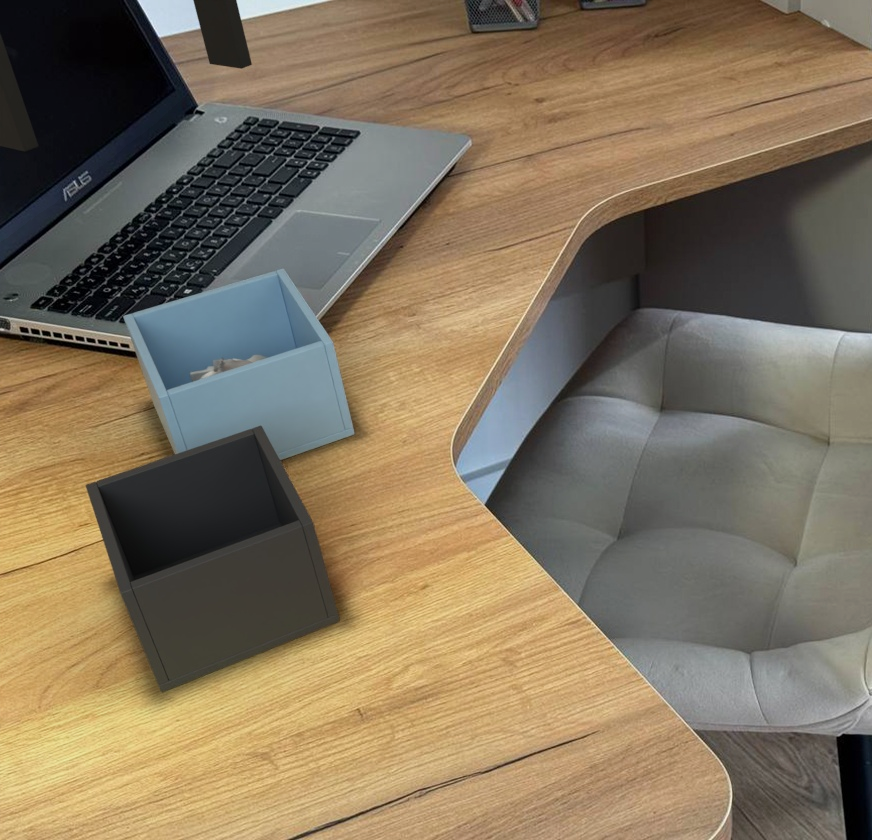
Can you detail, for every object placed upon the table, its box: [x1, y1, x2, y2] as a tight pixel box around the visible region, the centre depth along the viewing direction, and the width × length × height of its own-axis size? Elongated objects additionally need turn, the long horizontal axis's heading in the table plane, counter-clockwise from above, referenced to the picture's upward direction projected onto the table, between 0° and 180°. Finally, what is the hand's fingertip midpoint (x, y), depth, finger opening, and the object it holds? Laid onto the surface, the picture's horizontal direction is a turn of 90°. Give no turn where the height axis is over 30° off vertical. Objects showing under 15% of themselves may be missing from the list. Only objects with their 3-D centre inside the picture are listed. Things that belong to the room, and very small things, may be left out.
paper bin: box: [122, 268, 355, 461], centre depth 89 cm, size 11×11×8 cm
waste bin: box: [85, 426, 341, 693], centre depth 74 cm, size 10×10×8 cm
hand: (130, 103), depth 69 cm, fingers open, 13 cm apart
